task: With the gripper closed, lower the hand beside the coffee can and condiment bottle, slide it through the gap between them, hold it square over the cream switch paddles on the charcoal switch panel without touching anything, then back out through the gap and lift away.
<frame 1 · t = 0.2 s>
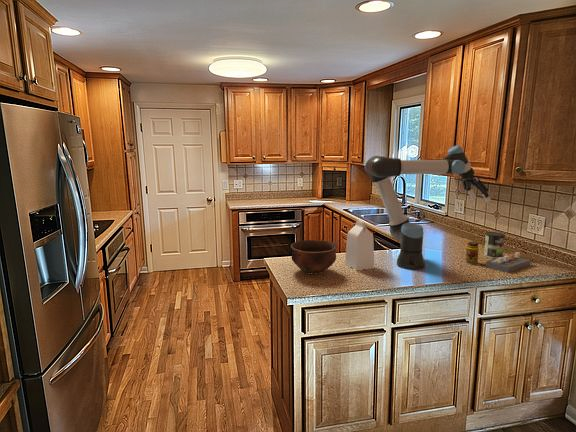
hand: (481, 200, 222), 34 cm above the worktop, tool tilted 30°, fingers open, 13 cm apart
switch panel: (508, 265, 208), on the worktop
condiment: (471, 263, 215), on the worktop
milk: (359, 266, 211), on the worktop
coffee can: (493, 256, 227), on the worktop
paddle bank: (508, 257, 208), point 5 cm above the worktop, hinge at 0.0°
bowl: (313, 272, 202), on the worktop
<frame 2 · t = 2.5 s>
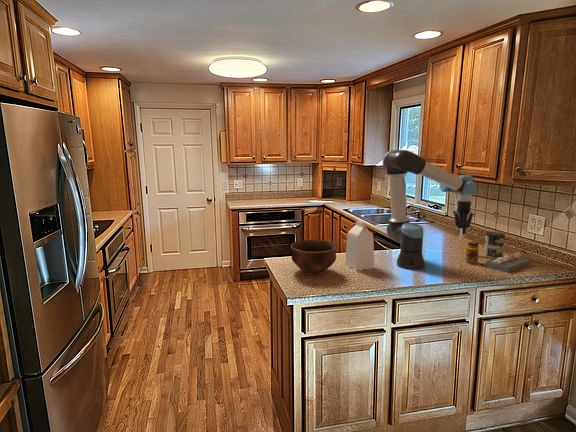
hand: (461, 238, 231), 10 cm above the worktop, tool pointing down, fingers closed
nothing on the worktop moved.
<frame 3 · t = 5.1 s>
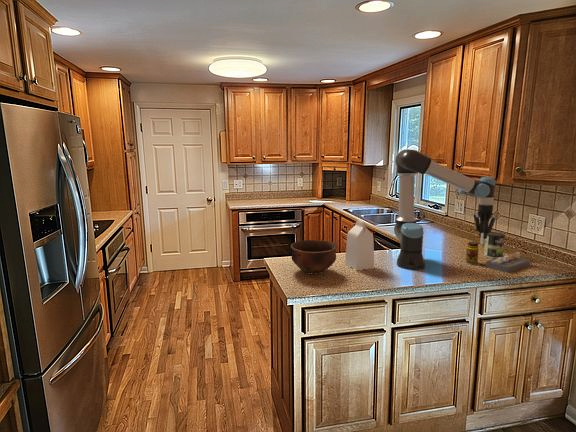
hand: (482, 243, 220), 10 cm above the worktop, tool pointing down, fingers closed
nothing on the worktop moved.
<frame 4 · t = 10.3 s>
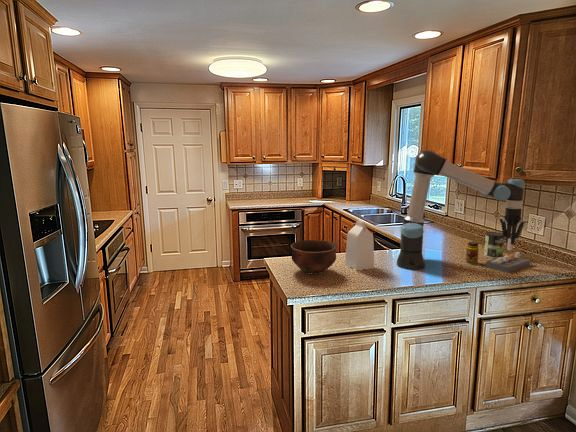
hand: (509, 249, 207), 9 cm above the worktop, tool pointing down, fingers closed
nothing on the worktop moved.
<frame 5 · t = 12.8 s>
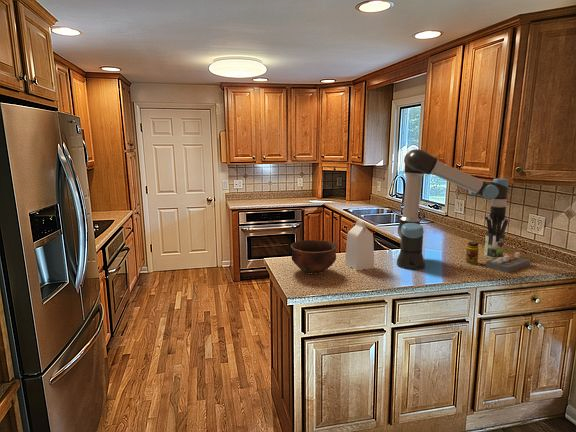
hand: (494, 246, 214), 9 cm above the worktop, tool pointing down, fingers closed
nothing on the worktop moved.
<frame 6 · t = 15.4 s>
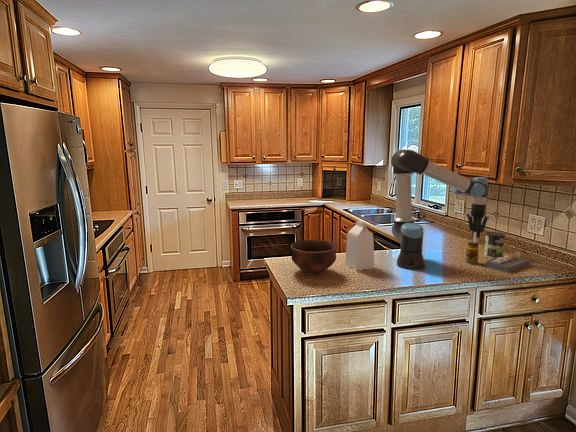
hand: (475, 242, 223), 9 cm above the worktop, tool pointing down, fingers closed
nothing on the worktop moved.
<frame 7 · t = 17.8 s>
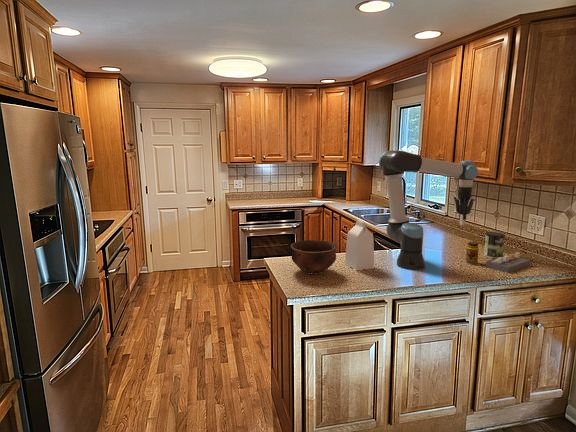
hand: (462, 224, 229), 19 cm above the worktop, tool pointing down, fingers closed
nothing on the worktop moved.
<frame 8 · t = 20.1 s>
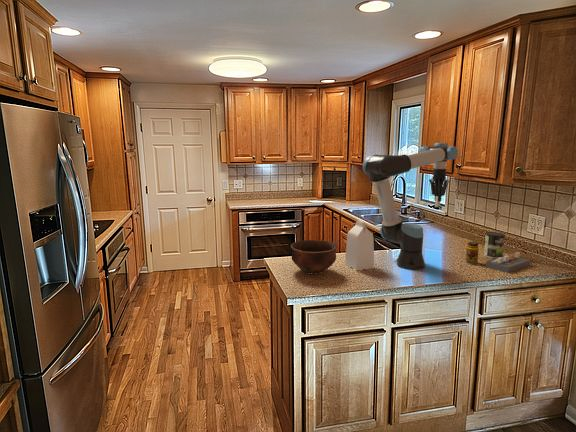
hand: (437, 206, 233), 29 cm above the worktop, tool pointing down, fingers closed
nothing on the worktop moved.
at the end: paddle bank at +0° (first picture: +0°); coffee can moved 0.2 cm from its start; condiment moved 0.3 cm from its start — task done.
